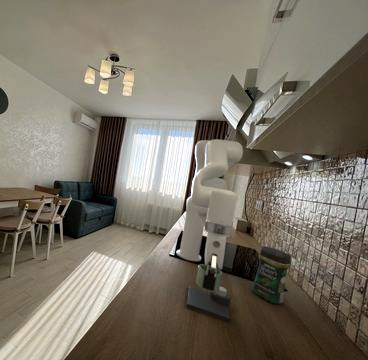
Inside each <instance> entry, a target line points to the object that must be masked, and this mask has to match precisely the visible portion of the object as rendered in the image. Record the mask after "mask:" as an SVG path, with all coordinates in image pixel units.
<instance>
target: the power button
mask: <svg viewBox="0 0 368 360" xmlns="http://www.w3.org/2000/svg"><path fill="white" fill-rule="evenodd" d="M226 292H227V293H228V290H227V289H226V288H225V287H224V286H221V285H220V288H219V290H218V291H216V292H215V293H216V294H217V295H219V296H222V297H226Z"/></svg>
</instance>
